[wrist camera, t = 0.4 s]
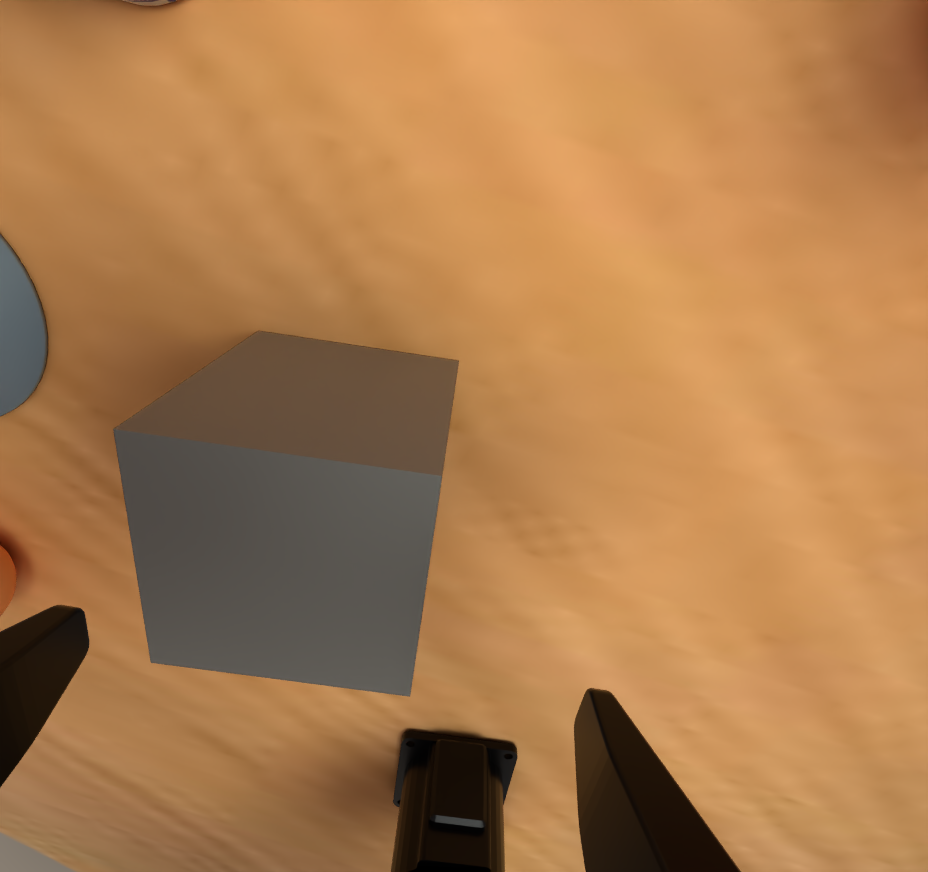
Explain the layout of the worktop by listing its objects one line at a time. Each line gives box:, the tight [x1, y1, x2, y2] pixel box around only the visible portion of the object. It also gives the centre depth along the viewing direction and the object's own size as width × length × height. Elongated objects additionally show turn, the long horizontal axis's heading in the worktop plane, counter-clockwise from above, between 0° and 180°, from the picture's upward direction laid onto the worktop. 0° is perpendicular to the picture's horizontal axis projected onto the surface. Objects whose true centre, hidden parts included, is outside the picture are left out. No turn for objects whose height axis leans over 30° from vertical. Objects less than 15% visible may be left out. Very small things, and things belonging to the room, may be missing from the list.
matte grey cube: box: [113, 331, 459, 696], centre depth 18 cm, size 8×8×9 cm
